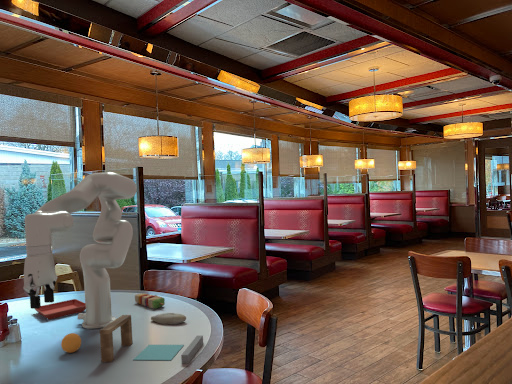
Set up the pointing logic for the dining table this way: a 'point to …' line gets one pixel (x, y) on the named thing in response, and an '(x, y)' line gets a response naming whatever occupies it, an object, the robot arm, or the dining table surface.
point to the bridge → (107, 336)
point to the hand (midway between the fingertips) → (42, 304)
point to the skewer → (150, 300)
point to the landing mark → (159, 352)
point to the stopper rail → (191, 349)
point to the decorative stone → (169, 318)
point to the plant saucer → (61, 309)
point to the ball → (71, 342)
